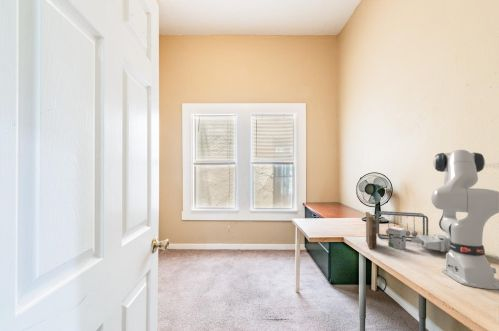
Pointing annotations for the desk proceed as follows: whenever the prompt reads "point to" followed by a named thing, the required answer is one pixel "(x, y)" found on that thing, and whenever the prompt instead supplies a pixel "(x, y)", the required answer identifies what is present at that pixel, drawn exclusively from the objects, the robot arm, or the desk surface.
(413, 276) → the desk surface
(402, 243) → the ink box
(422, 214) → the newton's cradle
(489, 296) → the desk surface
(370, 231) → the headboard
